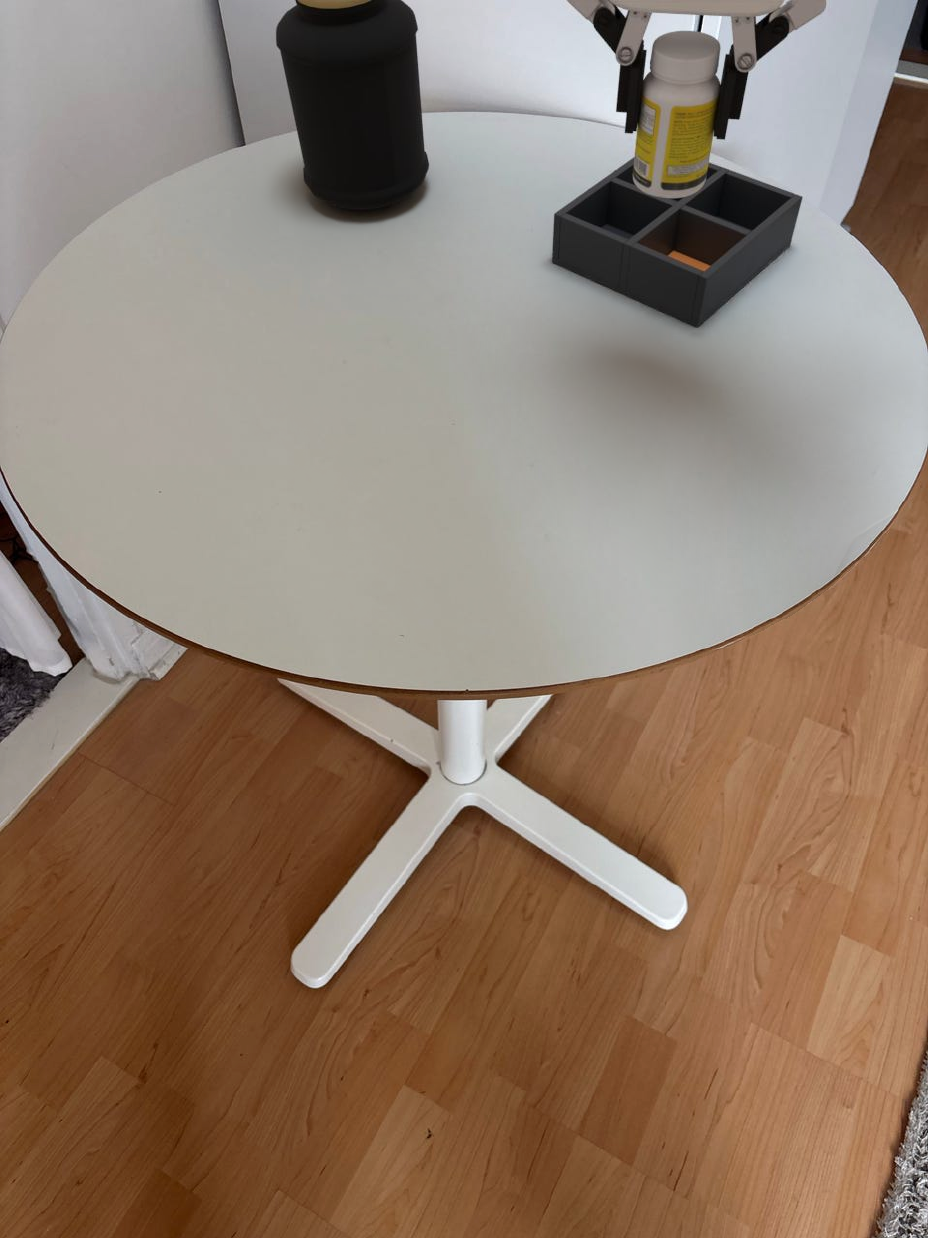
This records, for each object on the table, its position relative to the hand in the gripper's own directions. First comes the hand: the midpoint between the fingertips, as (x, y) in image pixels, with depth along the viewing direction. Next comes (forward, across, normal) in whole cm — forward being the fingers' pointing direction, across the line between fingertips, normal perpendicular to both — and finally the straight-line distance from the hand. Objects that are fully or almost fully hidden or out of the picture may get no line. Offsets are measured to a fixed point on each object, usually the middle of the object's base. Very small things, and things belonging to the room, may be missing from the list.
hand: (676, 122), depth 62 cm
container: (+19, +28, -21) cm, 40 cm away
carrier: (+18, -1, -15) cm, 24 cm away
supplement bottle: (+4, 0, 0) cm, 4 cm away
